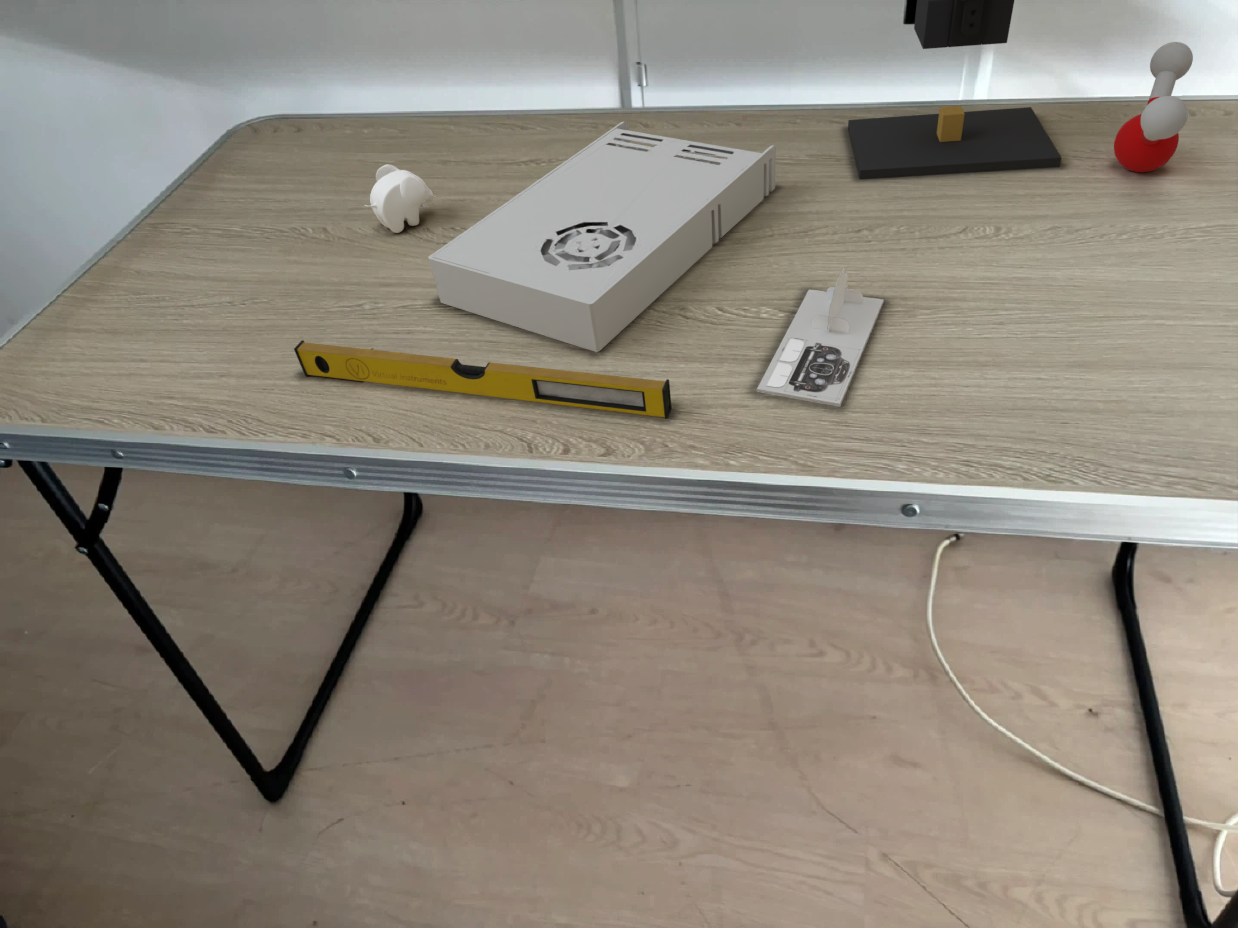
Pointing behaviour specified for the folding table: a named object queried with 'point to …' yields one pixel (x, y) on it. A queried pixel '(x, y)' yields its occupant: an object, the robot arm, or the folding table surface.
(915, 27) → the black socket block
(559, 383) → the spirit level
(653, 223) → the power supply unit
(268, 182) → the folding table surface
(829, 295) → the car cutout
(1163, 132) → the molecular model
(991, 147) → the base pad
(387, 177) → the elephant figurine
